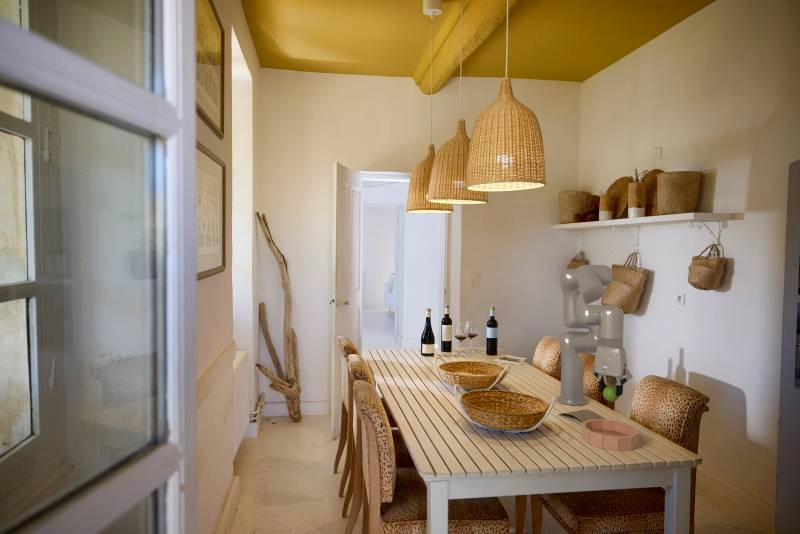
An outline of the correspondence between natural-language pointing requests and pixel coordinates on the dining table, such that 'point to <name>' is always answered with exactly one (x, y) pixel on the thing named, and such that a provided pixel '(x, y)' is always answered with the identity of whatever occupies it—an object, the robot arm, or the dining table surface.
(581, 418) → the clay tablet
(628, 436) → the terracotta bowl
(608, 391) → the snail figurine
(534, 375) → the dining table surface
